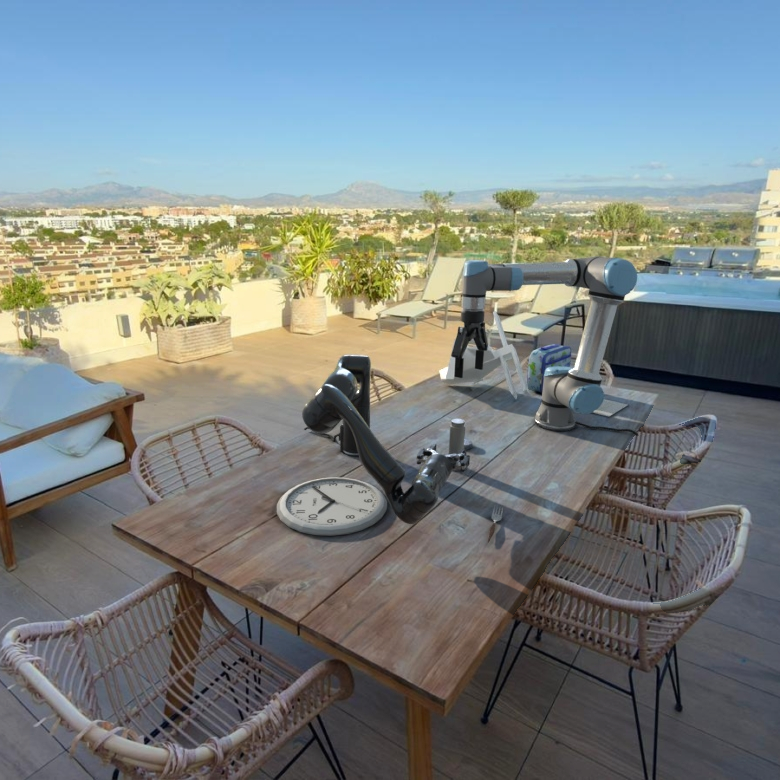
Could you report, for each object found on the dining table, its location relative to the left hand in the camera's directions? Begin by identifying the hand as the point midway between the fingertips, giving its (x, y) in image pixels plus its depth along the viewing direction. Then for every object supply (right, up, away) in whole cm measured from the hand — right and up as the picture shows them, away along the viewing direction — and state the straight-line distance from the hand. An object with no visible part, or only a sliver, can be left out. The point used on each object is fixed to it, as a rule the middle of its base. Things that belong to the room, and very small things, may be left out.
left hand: (449, 449), depth 152 cm
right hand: (+9, +23, +23) cm, 33 cm away
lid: (+9, -1, +30) cm, 31 cm away
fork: (+9, -18, -19) cm, 28 cm away
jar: (+4, -7, +14) cm, 16 cm away
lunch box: (+58, +18, +98) cm, 115 cm away
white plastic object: (+24, +16, +91) cm, 95 cm away
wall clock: (-33, -14, -10) cm, 37 cm away
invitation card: (+74, +10, +74) cm, 105 cm away
